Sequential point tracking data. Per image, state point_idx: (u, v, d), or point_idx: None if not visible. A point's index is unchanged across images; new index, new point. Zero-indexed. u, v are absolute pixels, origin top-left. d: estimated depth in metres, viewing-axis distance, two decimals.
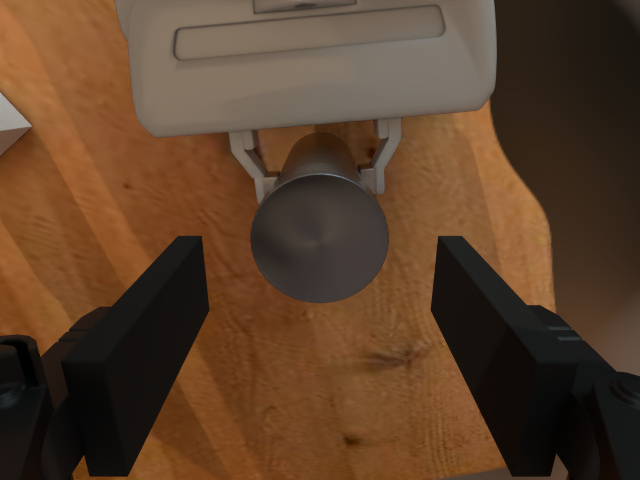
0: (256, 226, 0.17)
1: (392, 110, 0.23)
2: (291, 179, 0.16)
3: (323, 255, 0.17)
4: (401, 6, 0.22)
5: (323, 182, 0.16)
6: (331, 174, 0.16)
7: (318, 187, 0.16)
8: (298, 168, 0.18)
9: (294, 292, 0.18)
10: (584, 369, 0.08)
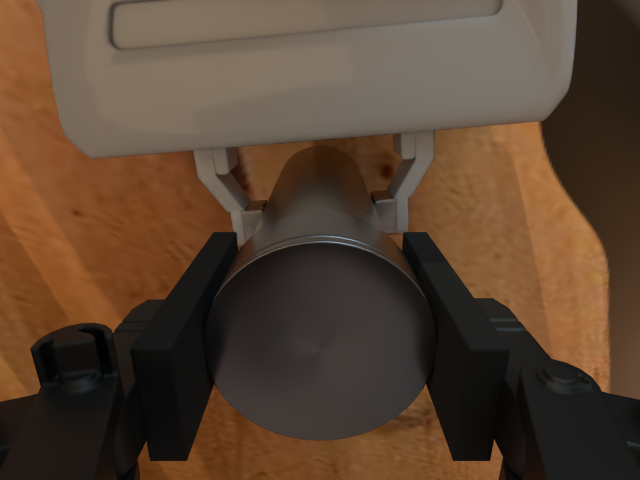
0: (212, 326, 0.10)
1: (422, 121, 0.17)
2: (270, 250, 0.09)
3: (326, 371, 0.10)
4: None
5: (327, 256, 0.09)
6: (341, 242, 0.09)
7: (318, 264, 0.09)
8: (285, 221, 0.11)
9: (278, 425, 0.11)
10: (521, 357, 0.08)
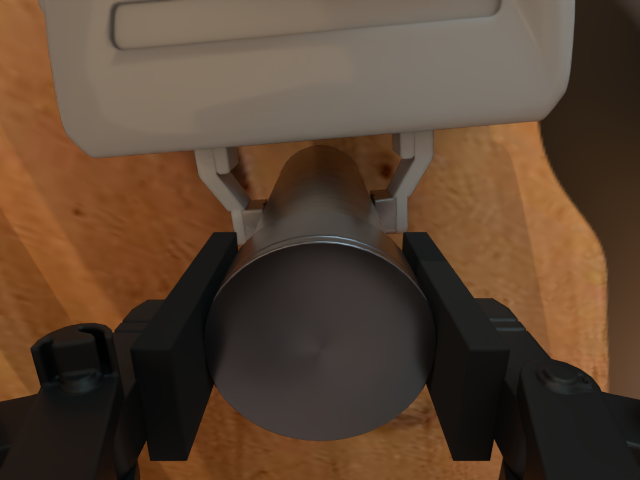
0: (283, 430, 0.11)
1: (422, 120, 0.17)
2: (211, 377, 0.10)
3: (345, 347, 0.10)
4: None
5: (217, 335, 0.10)
6: (206, 320, 0.10)
7: (225, 343, 0.10)
8: None
9: (405, 395, 0.10)
10: (521, 357, 0.08)
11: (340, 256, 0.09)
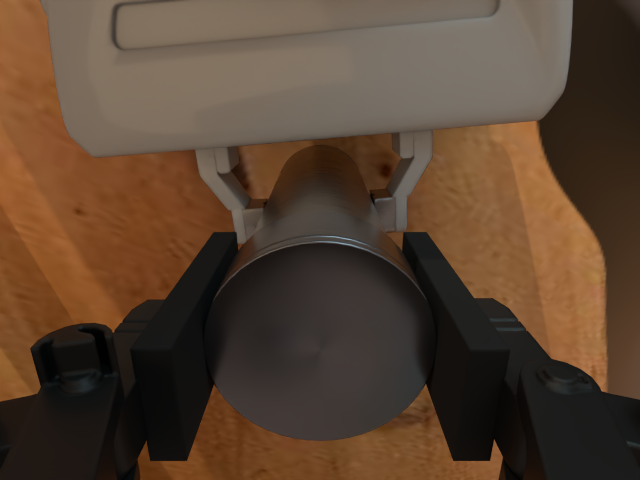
0: (412, 392, 0.10)
1: (421, 120, 0.17)
2: (337, 438, 0.11)
3: (319, 329, 0.10)
4: None
5: (292, 428, 0.11)
6: (279, 431, 0.11)
7: (301, 423, 0.11)
8: None
9: (389, 275, 0.09)
10: (521, 357, 0.08)
11: (218, 324, 0.10)
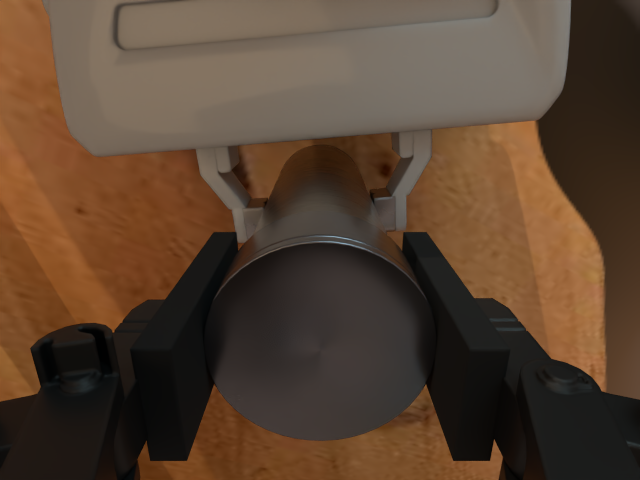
0: (387, 268, 0.09)
1: (420, 120, 0.17)
2: (436, 345, 0.10)
3: (294, 349, 0.10)
4: None
5: (411, 384, 0.10)
6: None
7: (407, 375, 0.10)
8: None
9: (240, 283, 0.09)
10: (522, 357, 0.08)
11: (281, 425, 0.11)
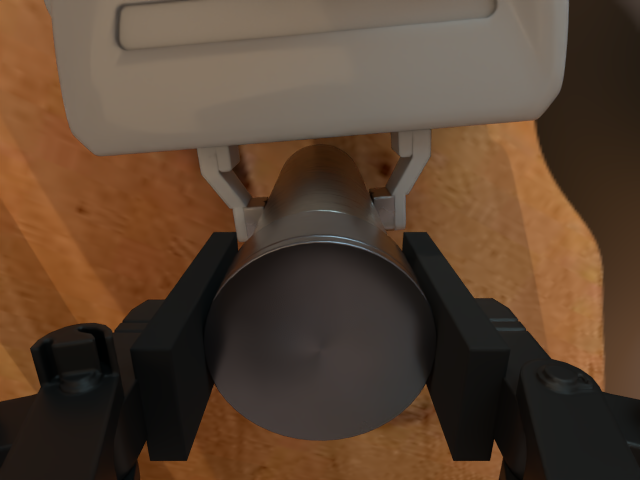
0: (232, 285, 0.09)
1: (419, 119, 0.17)
2: (328, 241, 0.09)
3: (315, 371, 0.10)
4: None
5: (375, 269, 0.09)
6: (393, 262, 0.09)
7: (363, 273, 0.09)
8: (334, 217, 0.11)
9: (241, 403, 0.10)
10: (522, 357, 0.08)
11: (406, 393, 0.10)
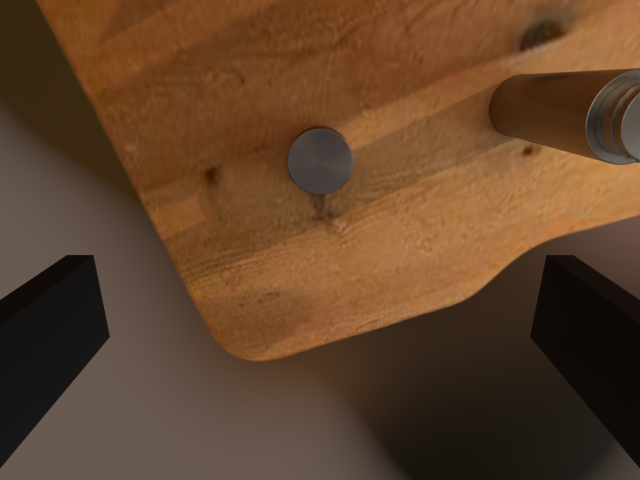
0: (296, 141, 0.35)
1: None
2: (322, 128, 0.34)
3: (318, 169, 0.36)
4: None
5: (334, 136, 0.35)
6: (339, 135, 0.35)
7: (331, 138, 0.35)
8: (324, 126, 0.36)
9: (297, 180, 0.36)
10: None
11: (345, 176, 0.36)
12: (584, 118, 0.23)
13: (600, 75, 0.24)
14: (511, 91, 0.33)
